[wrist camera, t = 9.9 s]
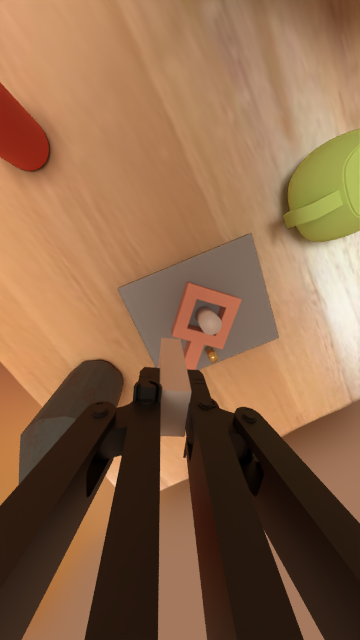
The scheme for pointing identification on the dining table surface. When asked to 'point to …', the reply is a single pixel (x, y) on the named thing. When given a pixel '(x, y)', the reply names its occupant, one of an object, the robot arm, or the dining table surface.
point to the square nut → (196, 334)
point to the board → (215, 273)
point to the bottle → (67, 409)
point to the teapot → (327, 190)
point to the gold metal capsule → (211, 354)
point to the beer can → (20, 135)
